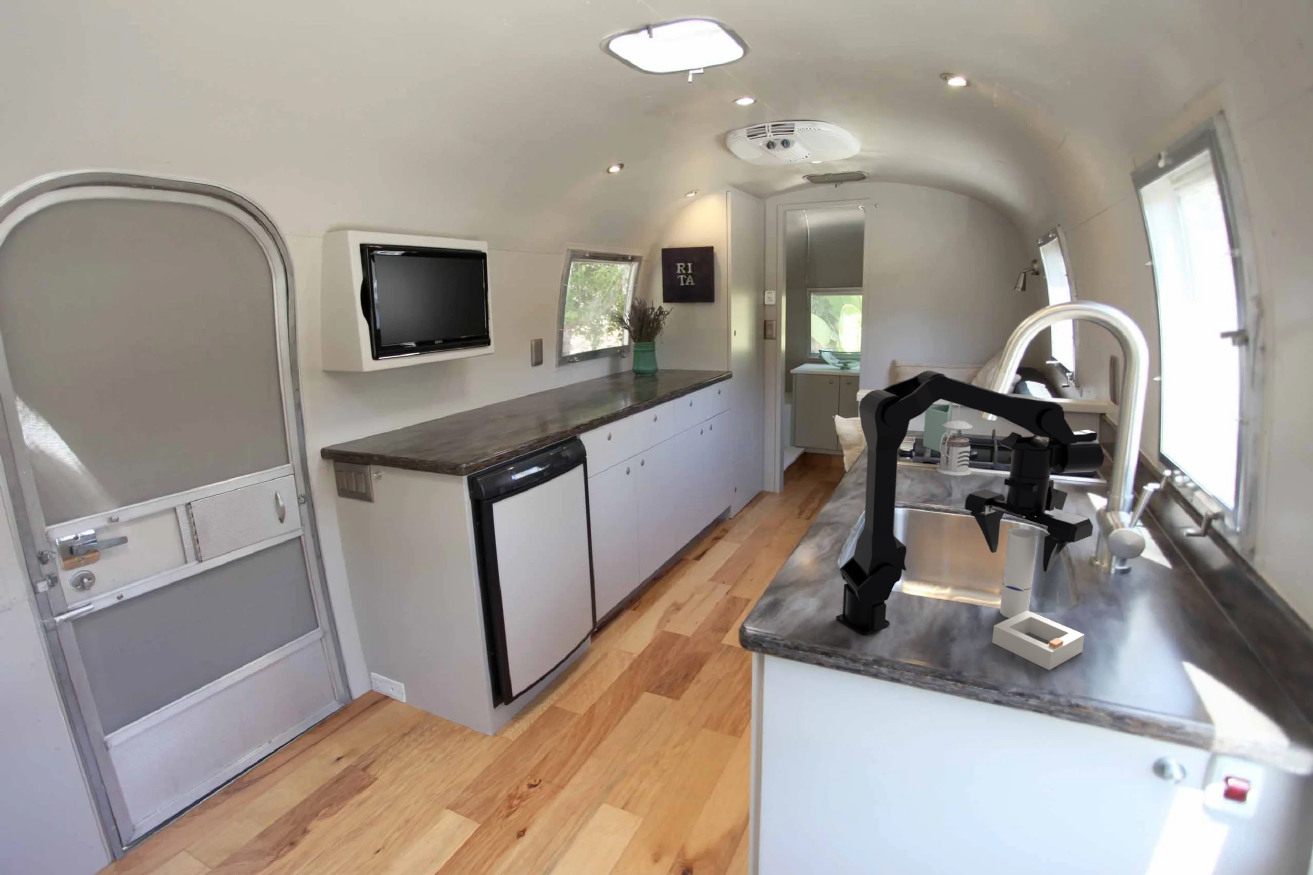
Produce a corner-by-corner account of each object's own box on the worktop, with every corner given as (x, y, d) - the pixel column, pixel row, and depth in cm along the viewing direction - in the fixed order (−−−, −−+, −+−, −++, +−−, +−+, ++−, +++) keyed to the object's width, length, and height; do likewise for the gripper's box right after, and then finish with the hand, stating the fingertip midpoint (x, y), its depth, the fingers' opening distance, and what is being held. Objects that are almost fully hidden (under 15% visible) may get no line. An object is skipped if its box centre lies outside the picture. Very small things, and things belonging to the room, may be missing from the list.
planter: (925, 440, 230) (929, 385, 225) (949, 442, 226) (954, 386, 222) (920, 451, 216) (924, 393, 211) (946, 454, 212) (951, 394, 207)
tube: (1018, 607, 115) (1028, 527, 111) (1033, 619, 111) (1043, 537, 107) (994, 608, 115) (1003, 528, 111) (1008, 620, 110) (1017, 538, 107)
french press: (978, 471, 193) (986, 388, 187) (956, 478, 187) (963, 393, 181) (947, 464, 201) (954, 384, 195) (925, 471, 195) (931, 388, 189)
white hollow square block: (992, 642, 104) (994, 622, 103) (1025, 626, 108) (1027, 607, 108) (1049, 670, 96) (1052, 648, 96) (1082, 651, 101) (1085, 631, 100)
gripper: (1117, 479, 103) (1103, 570, 106) (1004, 453, 118) (996, 533, 122) (1079, 491, 97) (1065, 587, 101) (966, 463, 113) (958, 547, 117)
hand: (1019, 561), depth 110 cm, fingers open, 9 cm apart
